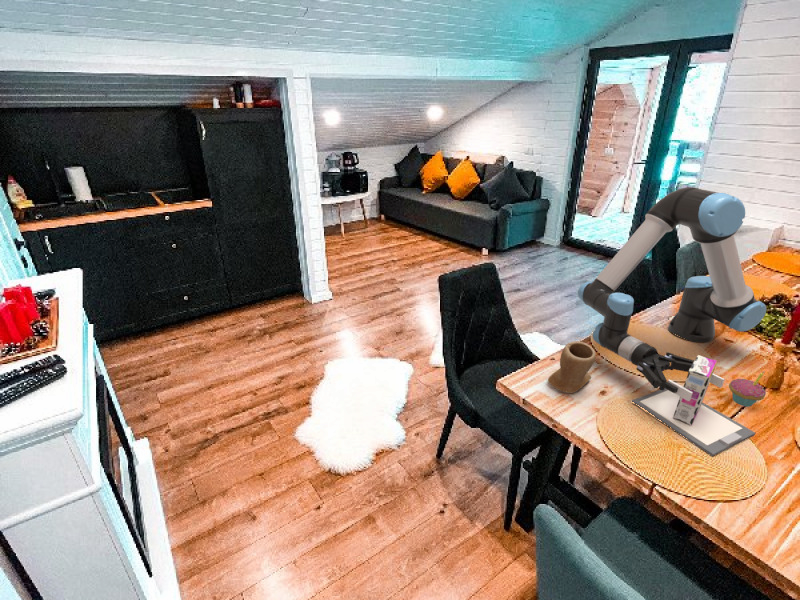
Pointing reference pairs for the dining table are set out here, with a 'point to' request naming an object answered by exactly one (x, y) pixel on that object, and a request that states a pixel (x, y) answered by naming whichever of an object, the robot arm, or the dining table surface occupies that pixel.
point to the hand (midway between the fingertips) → (707, 390)
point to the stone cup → (573, 367)
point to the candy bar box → (695, 389)
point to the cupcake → (747, 391)
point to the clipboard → (696, 422)
